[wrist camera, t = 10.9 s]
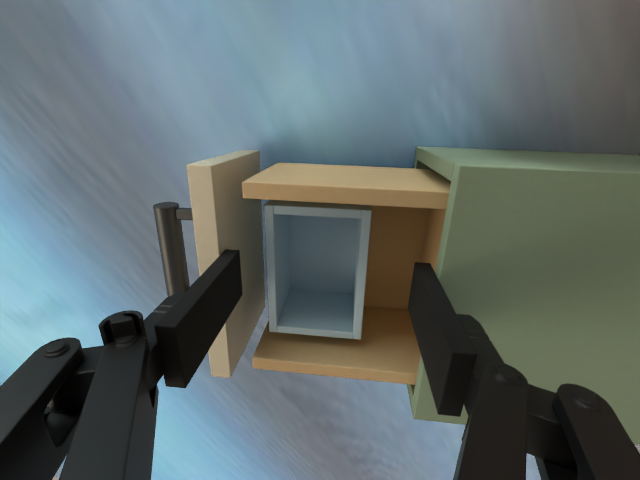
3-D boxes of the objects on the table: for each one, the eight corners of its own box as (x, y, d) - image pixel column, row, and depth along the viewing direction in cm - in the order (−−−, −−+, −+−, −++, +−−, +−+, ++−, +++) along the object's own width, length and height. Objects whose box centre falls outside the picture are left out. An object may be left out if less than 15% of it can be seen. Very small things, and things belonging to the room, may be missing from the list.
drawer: (203, 301, 27) (145, 369, 19) (185, 147, 22) (102, 160, 15) (418, 319, 25) (444, 401, 18) (445, 157, 21) (493, 178, 13)
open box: (283, 186, 21) (263, 204, 17) (368, 190, 21) (371, 210, 16) (285, 291, 24) (268, 331, 19) (359, 296, 24) (360, 340, 19)
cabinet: (393, 317, 26) (413, 419, 17) (416, 146, 21) (459, 165, 12) (582, 333, 25) (708, 452, 16) (651, 155, 20) (888, 183, 11)
